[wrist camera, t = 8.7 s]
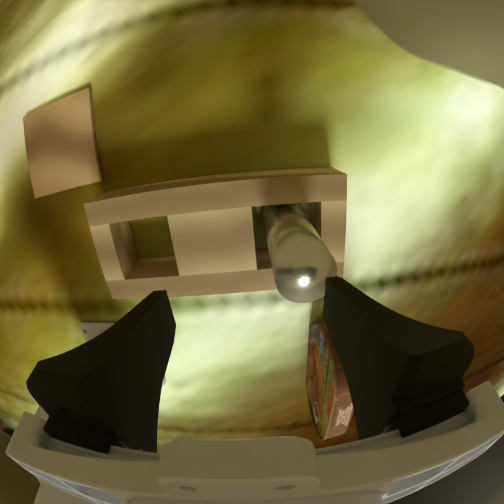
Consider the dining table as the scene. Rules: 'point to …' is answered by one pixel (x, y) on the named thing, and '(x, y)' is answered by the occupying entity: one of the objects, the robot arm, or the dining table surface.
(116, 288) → the wooden rectangular frame
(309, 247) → the pin
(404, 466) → the robot arm
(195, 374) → the dining table surface
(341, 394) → the tin
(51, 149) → the cork coaster
